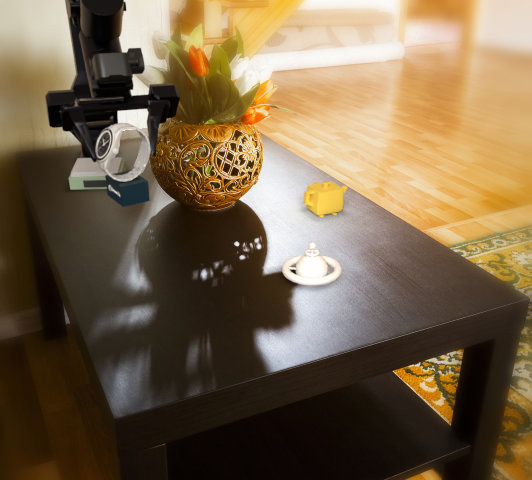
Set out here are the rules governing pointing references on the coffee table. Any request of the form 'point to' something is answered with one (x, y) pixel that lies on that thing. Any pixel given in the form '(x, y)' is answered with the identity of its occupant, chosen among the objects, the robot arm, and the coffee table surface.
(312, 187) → the teapot
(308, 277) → the ring around a ball
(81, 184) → the scale
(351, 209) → the coffee table surface
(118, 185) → the watch
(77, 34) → the robot arm
